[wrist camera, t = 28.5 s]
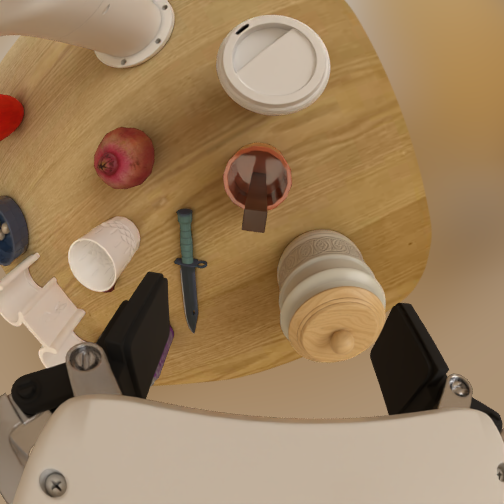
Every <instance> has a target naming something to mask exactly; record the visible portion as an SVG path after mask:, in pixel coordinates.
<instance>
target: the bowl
mask: <svg viewBox="0 0 504 504" xmlns="http://www.w3.org/2000/svg"><path fill="white" fill-rule="evenodd" d="M0 222H1V227H2V224H3V223H4V222H6V223H7V226H8V228H9V231H10V232H9V233H8V234H5V238H4V239H3V240H2V241H0V265H3V266H8V265H10V264H12V263H13V262H14V261H15V260H16V259H18V258H19V257H20V256H22V255H23V254H24V252H25V251H26V249H27V246H28V230H27V225H26V221H25V219H24V216H23V213H22V212H21V210H20V208H19V206H18V205H17V204H16V203H15V202H14V200H13V199H11V198H9V197H8V196H0ZM1 227H0V229H1Z"/></svg>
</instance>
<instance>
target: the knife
mask: <svg viewBox="0 0 504 504" xmlns="http://www.w3.org/2000/svg"><path fill="white" fill-rule="evenodd" d="M176 213H177V215H178V222H179V223H180V236H181V237H180V246H181V255H182V258H177V259H176V260H175V261H174V263H175V264H178V265H181V270H180V272H181V282H182V291H183V300H184V309H185V315H186V320H187V323H188V326H189V328H190V330H191V331H192V332H193V333H194V332H195V328H196V322H197V316H198V306H197V293H196V279H195V267H198V268H205V267H206V266H207V262H206V261H198V260H197V259H193V250H192V249H193V244H192V237H191V236H192V234H191V222H192V210H191V209H180V210H178V211H177V212H176ZM200 263H204V264H205V265H203V266H200V265H198V264H200ZM193 311H195V314H193Z"/></svg>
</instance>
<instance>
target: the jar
mask: <svg viewBox="0 0 504 504" xmlns="http://www.w3.org/2000/svg"><path fill="white" fill-rule="evenodd" d="M277 280H278V285H279V290H280V294H279V307H280V311H281V312H280V325H281V329H282V331H283V333H284V335H285V336H286V338H287V339H288V340H289V341H290V343H291V345H292V347H293V348H294V350H295V351H296V352H297V353H298V354H300V355H301V356H303V357H304V358H306V359H309V360H312V361H316V362H322V363H331V362H339V361H343V360H347V359H350V358H352V357H355V356H356V355H359V354H360V353H362V352H364V351H365V350H366V349H368V348H369V347H370V346H371V345H372V344H373V343H374V342H375V341H376V340H377V338H378V337H379V335H380V333H381V331H382V328H383V326H384V324H385V305H386V300H385V294H384V291H383V289H382V287H381V285H380V284H379V282H378V281H377V280H376V279H375V276H374V274H373V272H372V271H371V269H370V268H369V267H368V266H367V265H366V263H365V262H364V260H363V257H362V255H361V253H360V251H359V249H358V248H357V247H356V245H355V244H354V243H353V242H352V241H351V240H350V239H348V238H347V237H345V236H344V235H342V234H340V233H338V232H335V231H331V230H314V231H310V232H307V233H304V234H302V235H300V236H298V237H297V238H295V239H294V240H293V241H292V242H291V243H290V244H289V245H288V246H287V247H286V249H285V250H284V252H283V253H282V256H281V258H280V261H279V264H278V269H277Z"/></svg>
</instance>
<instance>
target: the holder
mask: <svg viewBox="0 0 504 504" xmlns="http://www.w3.org/2000/svg"><path fill="white" fill-rule="evenodd" d="M252 172H256V173H263V174H266V185H267V211H268V210H271V209H274V208H276V207H277V206H278V205H279V204H280V203H282V202H283V201H284V200H285V199H286V198H287V195H288V193H289V191H290V188H291V186H292V178H291V169H290V167H289V165H288V163H287V162H286V160H285V158H284V157H283V155H282V153H281V152H280V151H279V150H277V149H276V148H275V147H273V146H271V145H270V144H266V143H257V142H256V143H251V144H248V145H245V146H243V147H241V148H240V149H239V150H238V151H237V152H236V153H235V154H234V155H233V156H232V157H231V159H230V160H229V161H228V162H227V165H226V168H225V171H224V174H223V180H224V188H225V191H226V193H227V194H228V196H229V197H230V199H231V200H232V202H233V203H234V204H236V205H237V206H239V207H241V208H242V209H244V208H245V203H246V199H247V194H248V190H249V185H250V181H251V176H252Z"/></svg>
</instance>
